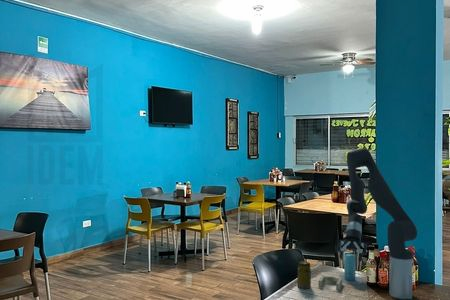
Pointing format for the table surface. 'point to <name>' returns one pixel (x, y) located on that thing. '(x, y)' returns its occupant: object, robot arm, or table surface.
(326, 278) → the holder
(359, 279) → the mat
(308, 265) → the condiment
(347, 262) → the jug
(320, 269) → the table surface
